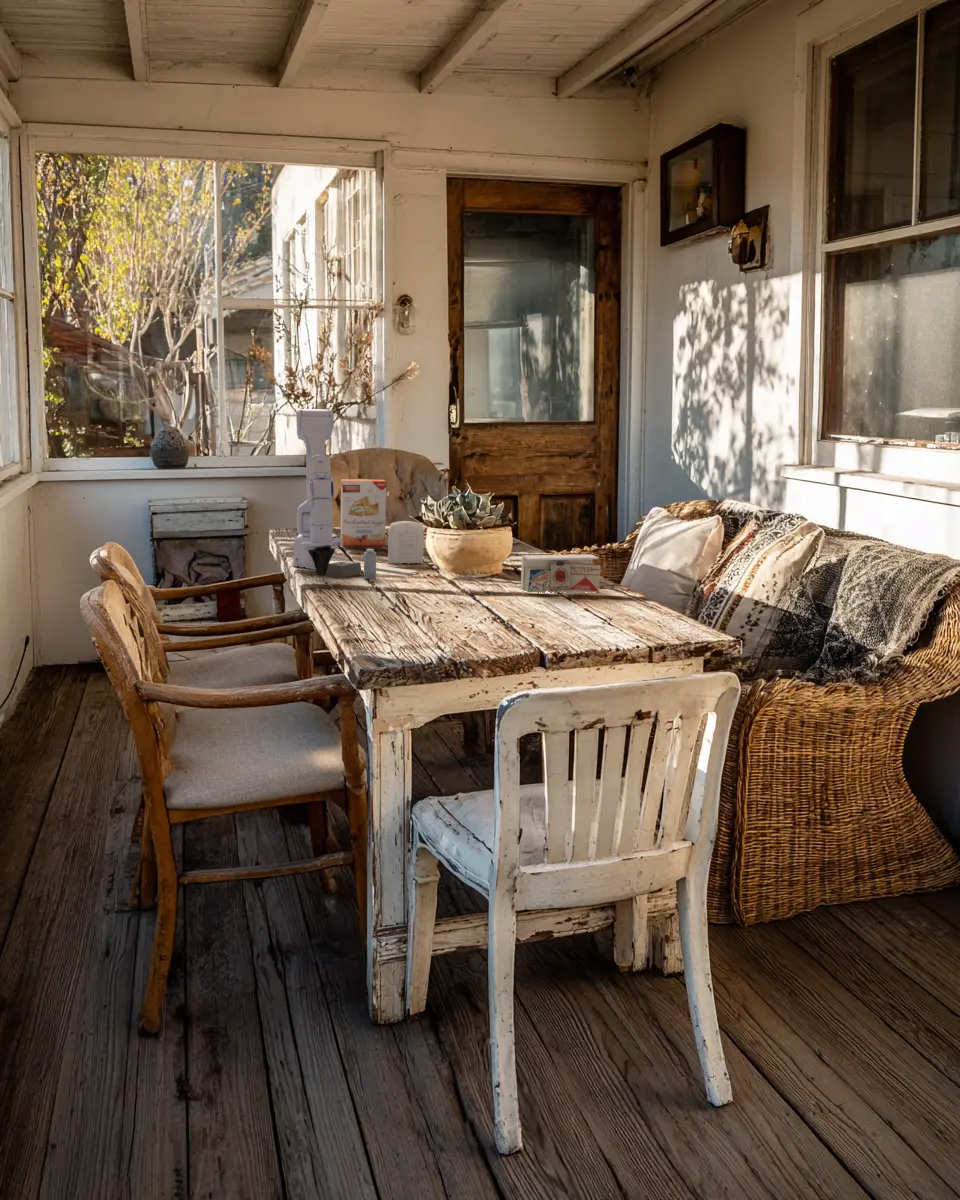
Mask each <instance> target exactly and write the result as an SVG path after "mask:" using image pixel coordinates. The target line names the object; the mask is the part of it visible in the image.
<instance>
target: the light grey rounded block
mask: <svg viewBox="0 0 960 1200" xmlns="http://www.w3.org/2000/svg"><path fill="white" fill-rule="evenodd" d="M424 533H425V532H424V527H423V524H422V523H419V522H418V521H417V522H416V521H411V520H410V521H409V520H402V521H401V520H400V521H394V522H392V523H390V524H389V529H388V540H387V541H388V543H387V545H388V547H387V549H388V551H387V563H388V564H392V565H393V564H394V565H396V564H399V565H400V564H401V565H403V564H402V563H407V564H406V565H411V564H410V563H423V564H424V544H425V543H424V542H425V540H424V539H425V534H424Z"/></svg>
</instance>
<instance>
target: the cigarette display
mask: <svg viewBox="0 0 960 1200" xmlns="http://www.w3.org/2000/svg"><path fill="white" fill-rule="evenodd" d="M593 560H599V557H598V556H596V555H593V554H590V553H589V554H587V553H586V554H537V555H536V554H535V555H533V554H530V555H529V554H528V555H527V554H525V555H523V554H522V555H521V574H520V575H521V576H520V591H521V590H524V591H527V592H537V593H538V594H539V592H540V593H541V592H542V593H545V592H546V591H548V592H550V593H552V592H554V593H558V592H561V593H564V592H566V593H585V592H588V593H589V592H591V593H590V594H593V593H592V592H600V579H601V577H600V576H601V575H600V574H601V564H595V563H593ZM556 591H557V592H556ZM562 591H563V592H562Z"/></svg>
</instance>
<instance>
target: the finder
mask: <svg viewBox="0 0 960 1200" xmlns="http://www.w3.org/2000/svg"><path fill="white" fill-rule="evenodd" d="M361 567H362V562H359V561H354V560H353V561H351V560H342V561H337V562H331V563H330V562H329V565H328V568H327V573H326V576H327V575H328V576H327V577H331V576H334V577H333V578H337V577H339V578H338V579H343V578H342V577H344V578H348V577H347V576H349V577H354V576H353V575H355V576H359V574H360V575H362V573H361V570H362V569H361Z"/></svg>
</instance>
